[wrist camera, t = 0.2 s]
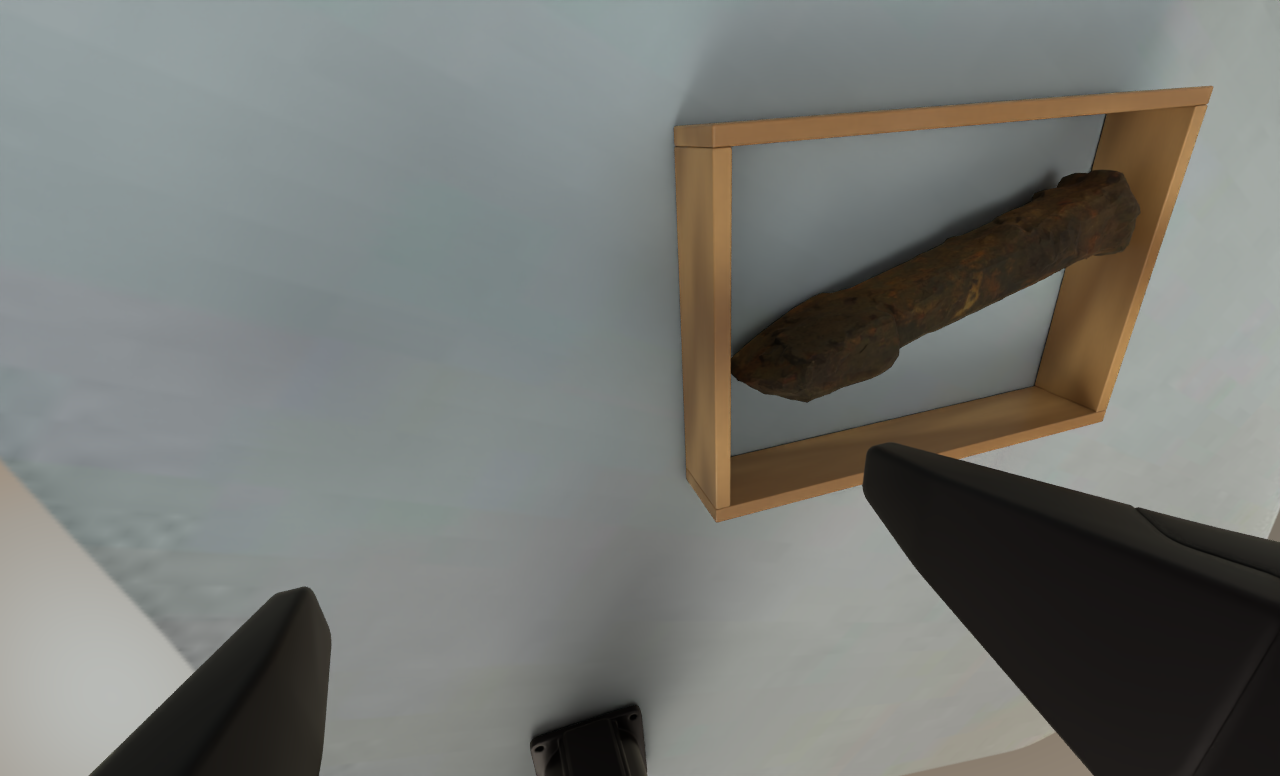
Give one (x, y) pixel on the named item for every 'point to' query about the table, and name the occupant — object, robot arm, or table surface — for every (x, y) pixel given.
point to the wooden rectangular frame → (1060, 400)
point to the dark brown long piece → (937, 289)
